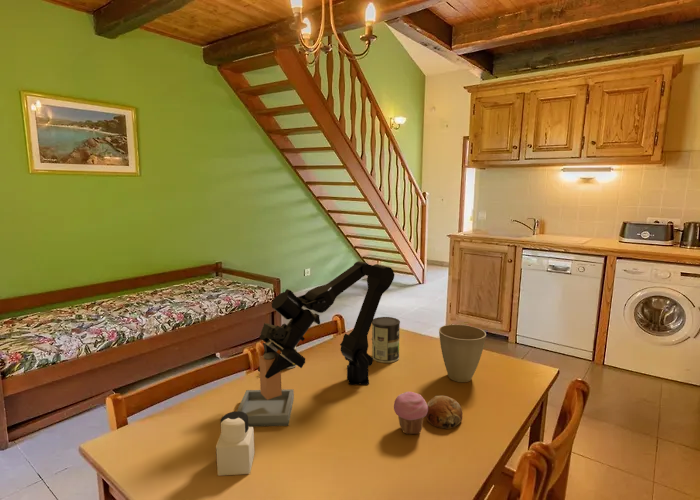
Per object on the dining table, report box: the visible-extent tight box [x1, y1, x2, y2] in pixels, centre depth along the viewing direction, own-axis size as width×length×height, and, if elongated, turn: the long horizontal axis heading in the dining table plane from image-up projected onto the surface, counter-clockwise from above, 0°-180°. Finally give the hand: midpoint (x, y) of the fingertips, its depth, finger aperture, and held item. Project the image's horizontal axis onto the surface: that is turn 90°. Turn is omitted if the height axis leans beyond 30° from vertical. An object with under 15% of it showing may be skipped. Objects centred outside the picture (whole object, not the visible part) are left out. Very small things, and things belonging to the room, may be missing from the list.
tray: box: [236, 388, 295, 427], centre depth 115 cm, size 14×14×3 cm
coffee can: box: [371, 316, 401, 364], centre depth 151 cm, size 10×10×14 cm
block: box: [258, 352, 283, 400], centre depth 114 cm, size 4×4×12 cm
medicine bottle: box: [215, 410, 255, 476], centre depth 92 cm, size 7×7×12 cm
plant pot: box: [438, 323, 487, 383], centre depth 134 cm, size 15×15×16 cm
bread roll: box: [425, 395, 463, 430], centre depth 111 cm, size 10×10×8 cm
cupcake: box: [393, 391, 428, 435], centre depth 106 cm, size 9×9×10 cm
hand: (262, 374), depth 113 cm, fingers closed on block, 4 cm apart
